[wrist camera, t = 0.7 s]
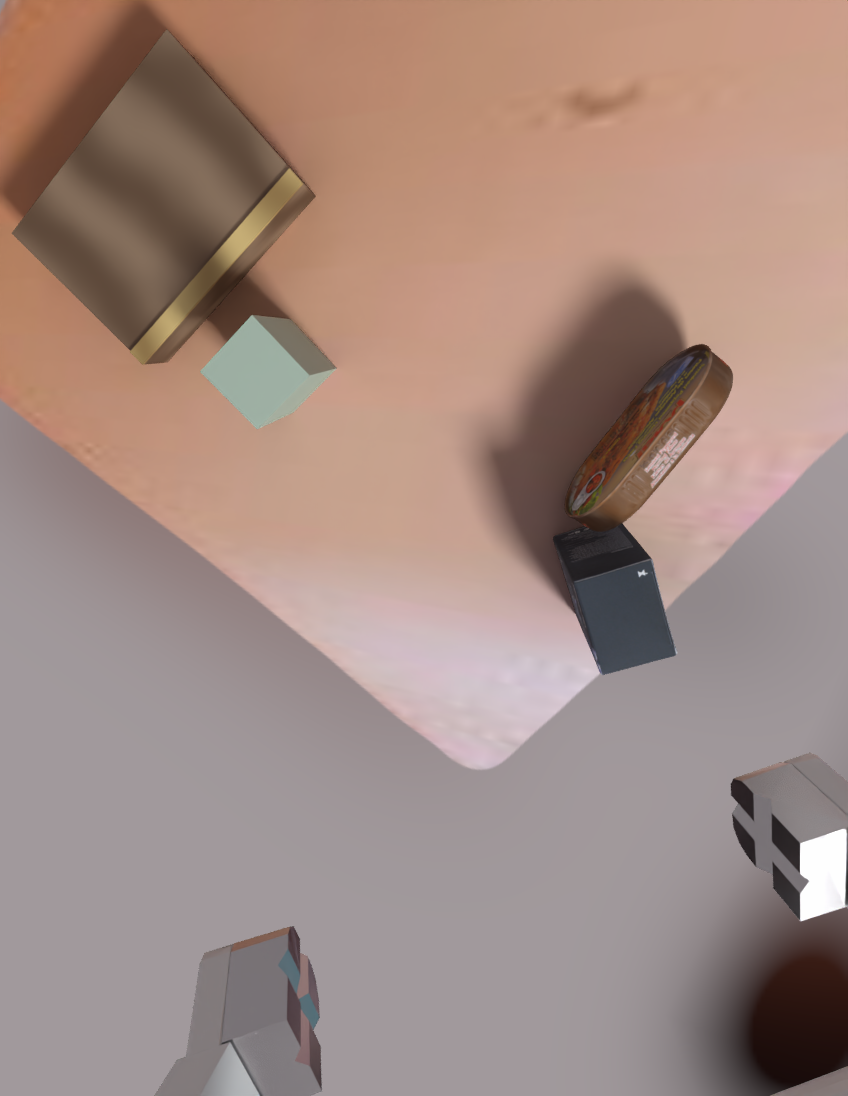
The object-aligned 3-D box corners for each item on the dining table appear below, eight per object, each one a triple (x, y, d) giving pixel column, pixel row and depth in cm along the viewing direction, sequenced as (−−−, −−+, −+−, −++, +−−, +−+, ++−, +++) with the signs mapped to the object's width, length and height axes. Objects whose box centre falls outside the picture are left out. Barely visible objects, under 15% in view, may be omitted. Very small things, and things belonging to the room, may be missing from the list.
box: (550, 536, 54) (572, 581, 44) (617, 515, 54) (654, 556, 44) (575, 617, 57) (601, 678, 46) (639, 599, 56) (680, 656, 46)
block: (290, 319, 50) (251, 314, 40) (336, 368, 51) (309, 375, 41) (247, 365, 51) (200, 371, 42) (293, 412, 52) (257, 429, 43)
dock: (191, 55, 45) (164, 26, 41) (315, 196, 47) (302, 182, 43) (46, 241, 49) (8, 232, 45) (167, 362, 51) (142, 364, 47)
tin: (679, 340, 49) (723, 341, 41) (710, 365, 50) (760, 371, 42) (554, 497, 53) (572, 526, 45) (584, 519, 54) (607, 551, 46)
